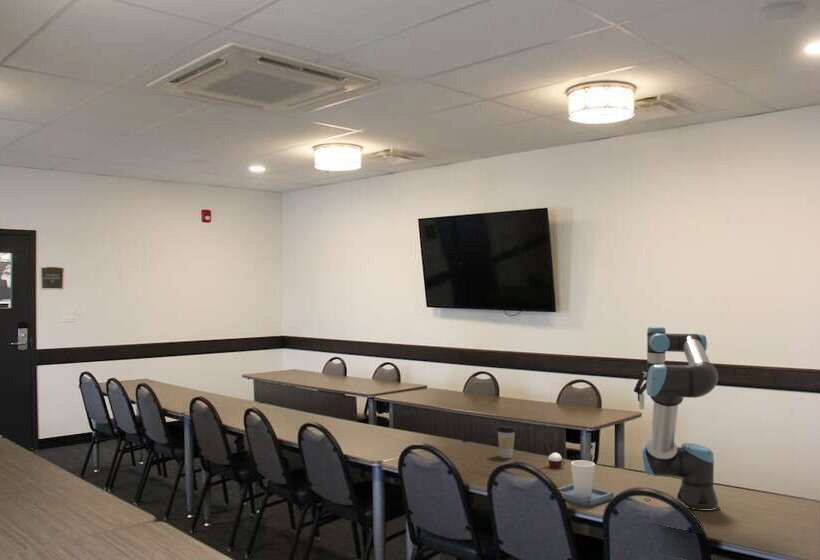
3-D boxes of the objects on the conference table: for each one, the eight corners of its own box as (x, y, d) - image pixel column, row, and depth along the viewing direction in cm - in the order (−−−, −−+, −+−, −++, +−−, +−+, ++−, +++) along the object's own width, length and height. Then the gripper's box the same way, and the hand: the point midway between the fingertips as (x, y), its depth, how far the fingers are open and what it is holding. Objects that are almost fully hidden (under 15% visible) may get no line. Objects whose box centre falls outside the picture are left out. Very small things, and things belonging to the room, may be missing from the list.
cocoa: (566, 468, 322) (567, 443, 322) (557, 470, 318) (559, 444, 318) (550, 463, 329) (551, 438, 329) (541, 465, 325) (543, 440, 325)
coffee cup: (495, 458, 338) (495, 428, 338) (498, 453, 347) (498, 424, 347) (514, 459, 336) (514, 429, 336) (517, 455, 345) (517, 425, 345)
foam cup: (592, 492, 282) (592, 460, 282) (596, 499, 273) (596, 466, 273) (569, 491, 283) (569, 459, 283) (572, 498, 274) (572, 466, 274)
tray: (613, 499, 276) (613, 493, 276) (589, 507, 266) (589, 501, 266) (576, 488, 290) (576, 482, 290) (552, 496, 280) (552, 490, 280)
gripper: (687, 364, 289) (687, 414, 289) (635, 359, 309) (635, 406, 309) (678, 366, 285) (678, 416, 285) (625, 360, 304) (625, 408, 304)
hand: (655, 411), depth 297 cm, fingers open, 13 cm apart
